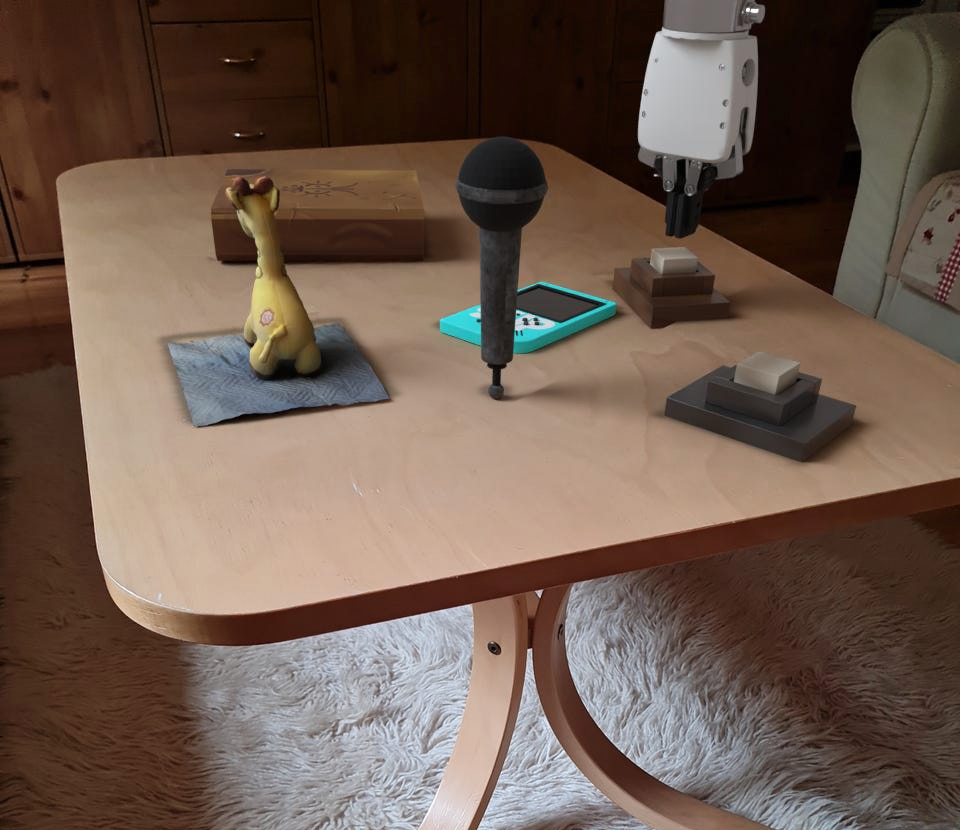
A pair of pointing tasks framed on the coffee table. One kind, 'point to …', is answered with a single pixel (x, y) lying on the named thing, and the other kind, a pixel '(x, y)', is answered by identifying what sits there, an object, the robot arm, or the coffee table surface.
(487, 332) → the microphone
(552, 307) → the handheld game console
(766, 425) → the near block
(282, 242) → the brown wooden box
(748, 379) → the near key
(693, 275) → the far block
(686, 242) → the coffee table surface
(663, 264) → the far key
